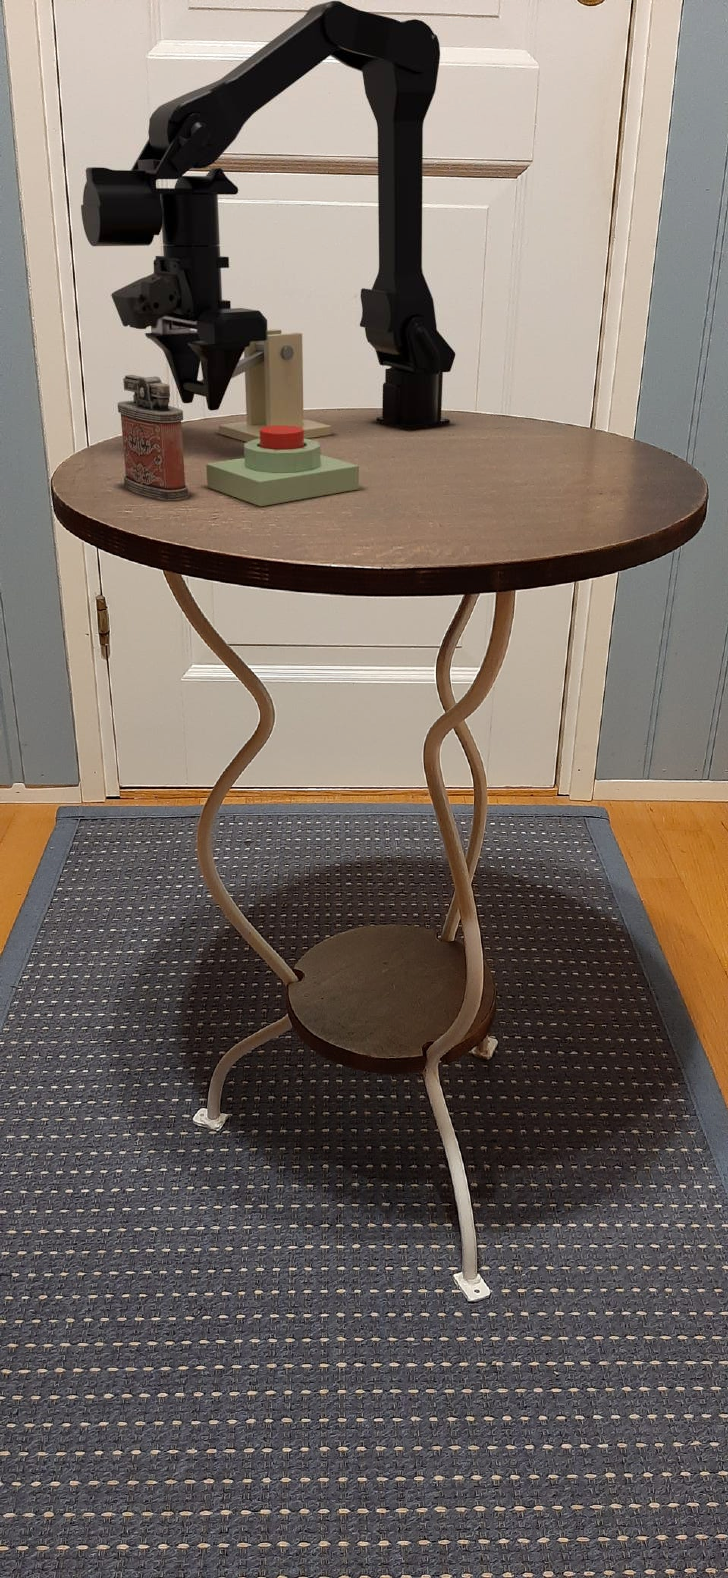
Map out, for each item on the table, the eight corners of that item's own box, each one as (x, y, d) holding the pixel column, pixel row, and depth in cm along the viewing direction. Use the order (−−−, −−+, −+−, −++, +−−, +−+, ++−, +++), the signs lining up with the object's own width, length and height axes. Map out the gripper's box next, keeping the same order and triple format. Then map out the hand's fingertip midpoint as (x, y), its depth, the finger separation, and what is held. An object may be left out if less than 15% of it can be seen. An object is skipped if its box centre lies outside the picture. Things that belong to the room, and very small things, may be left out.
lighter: (196, 496, 104) (190, 380, 100) (165, 502, 102) (157, 384, 97) (146, 480, 109) (138, 370, 105) (116, 486, 107) (106, 373, 103)
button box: (303, 472, 113) (302, 430, 111) (359, 489, 107) (359, 445, 105) (207, 487, 107) (204, 443, 105) (260, 506, 101) (258, 460, 99)
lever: (210, 404, 121) (202, 382, 119) (186, 398, 124) (178, 376, 123) (299, 358, 125) (292, 336, 124) (273, 353, 129) (267, 331, 127)
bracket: (257, 445, 125) (254, 339, 120) (218, 433, 130) (213, 331, 125) (331, 435, 130) (331, 332, 125) (291, 424, 136) (289, 326, 131)
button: (287, 442, 108) (287, 423, 107) (312, 449, 105) (312, 430, 104) (251, 447, 106) (251, 428, 105) (276, 455, 103) (275, 435, 102)
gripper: (76, 243, 118) (91, 401, 125) (166, 251, 105) (177, 427, 112) (172, 241, 124) (181, 392, 131) (268, 249, 111) (272, 416, 118)
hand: (200, 406), depth 123 cm, fingers closed on lever, 5 cm apart
